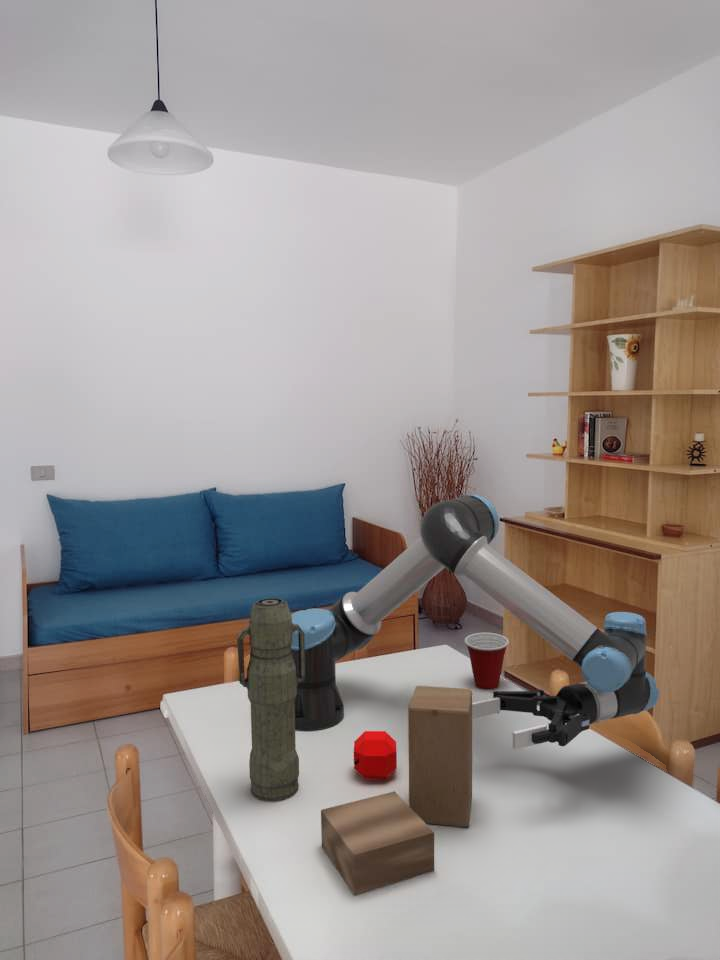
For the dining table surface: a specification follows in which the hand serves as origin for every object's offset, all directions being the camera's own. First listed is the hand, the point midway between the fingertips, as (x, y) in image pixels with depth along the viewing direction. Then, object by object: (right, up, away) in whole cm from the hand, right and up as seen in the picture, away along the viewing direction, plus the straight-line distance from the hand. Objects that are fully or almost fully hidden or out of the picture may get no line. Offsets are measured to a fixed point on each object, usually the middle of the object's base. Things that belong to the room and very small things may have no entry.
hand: (490, 725), depth 127 cm
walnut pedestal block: (-20, -15, -16) cm, 30 cm away
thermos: (-39, -14, +5) cm, 41 cm away
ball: (-20, -13, +10) cm, 26 cm away
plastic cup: (+9, -8, +53) cm, 55 cm away
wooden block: (-9, -14, -3) cm, 17 cm away
